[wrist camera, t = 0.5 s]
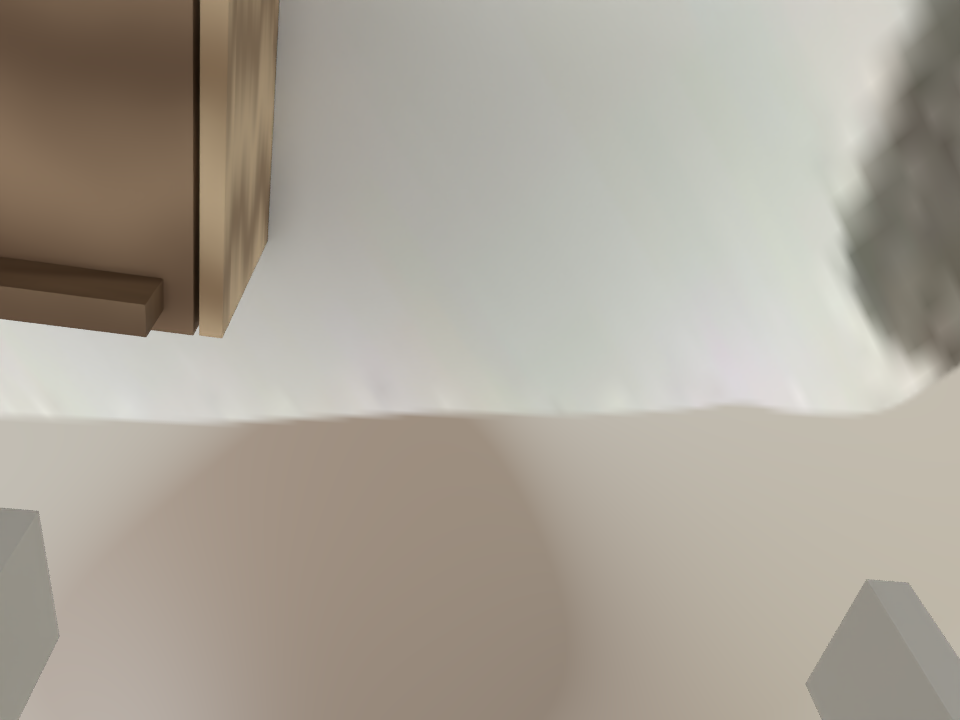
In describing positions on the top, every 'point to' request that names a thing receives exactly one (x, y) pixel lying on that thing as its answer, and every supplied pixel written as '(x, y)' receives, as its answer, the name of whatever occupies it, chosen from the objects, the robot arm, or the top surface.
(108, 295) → the lid
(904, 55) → the top surface
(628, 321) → the top surface
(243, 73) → the wooden box
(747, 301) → the top surface
